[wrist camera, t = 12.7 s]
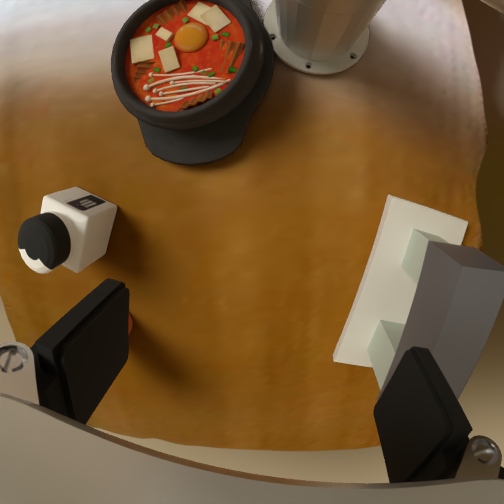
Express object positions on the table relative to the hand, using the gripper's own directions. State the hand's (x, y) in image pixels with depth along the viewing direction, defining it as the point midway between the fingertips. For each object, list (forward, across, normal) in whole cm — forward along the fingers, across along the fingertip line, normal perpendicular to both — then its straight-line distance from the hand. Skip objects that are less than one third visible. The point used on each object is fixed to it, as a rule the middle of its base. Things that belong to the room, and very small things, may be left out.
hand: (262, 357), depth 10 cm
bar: (+20, -19, +8) cm, 29 cm away
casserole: (+31, +13, -14) cm, 36 cm away
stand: (+30, -19, +8) cm, 37 cm away
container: (+31, +25, +8) cm, 40 cm away
